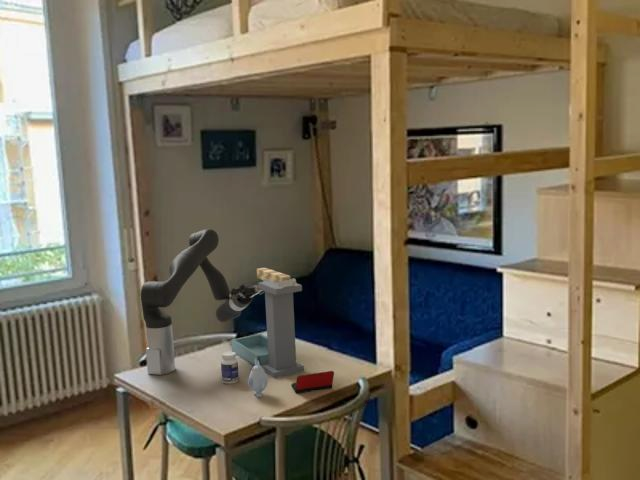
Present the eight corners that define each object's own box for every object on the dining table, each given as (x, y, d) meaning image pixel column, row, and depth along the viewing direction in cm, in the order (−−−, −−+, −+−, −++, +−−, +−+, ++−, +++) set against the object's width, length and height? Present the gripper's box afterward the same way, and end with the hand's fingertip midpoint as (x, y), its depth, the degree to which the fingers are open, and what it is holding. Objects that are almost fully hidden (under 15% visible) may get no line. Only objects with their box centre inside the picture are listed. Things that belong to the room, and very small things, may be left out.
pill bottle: (235, 384, 217) (233, 356, 216) (219, 383, 219) (217, 355, 217) (240, 378, 223) (239, 350, 222) (225, 377, 224) (223, 350, 223)
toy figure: (244, 392, 210) (242, 356, 209) (262, 388, 213) (260, 353, 211) (255, 402, 201) (253, 366, 199) (273, 398, 203) (272, 362, 202)
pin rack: (260, 369, 231) (255, 276, 226) (289, 362, 237) (285, 271, 232) (277, 381, 219) (272, 282, 214) (308, 373, 225) (304, 277, 220)
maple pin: (257, 277, 235) (256, 268, 235) (265, 276, 237) (265, 267, 237) (281, 286, 218) (281, 277, 218) (290, 285, 220) (290, 275, 219)
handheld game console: (326, 381, 217) (325, 360, 216) (335, 392, 207) (334, 370, 206) (290, 386, 214) (289, 365, 213) (298, 398, 204) (297, 376, 203)
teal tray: (231, 352, 253) (231, 339, 252) (261, 345, 259) (261, 333, 258) (258, 369, 231) (257, 356, 230) (290, 362, 238) (289, 349, 237)
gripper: (221, 292, 253) (234, 278, 240) (254, 287, 260) (268, 273, 247) (226, 310, 251) (239, 297, 238) (259, 305, 258) (273, 291, 245)
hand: (254, 284), depth 243 cm, fingers open, 8 cm apart
